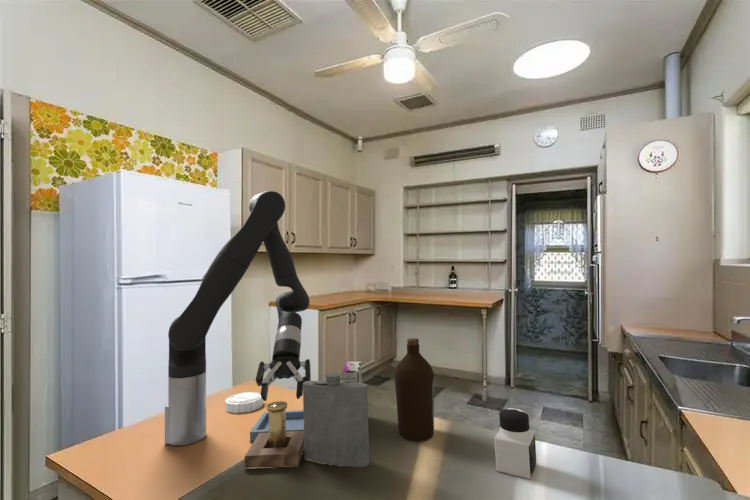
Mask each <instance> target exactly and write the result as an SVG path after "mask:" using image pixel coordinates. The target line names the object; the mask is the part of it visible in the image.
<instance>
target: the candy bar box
mask: <svg viewBox="0 0 750 500" xmlns="http://www.w3.org/2000/svg"><path fill="white" fill-rule="evenodd" d="M362 378H363V377H362V361H359V360H358V361H345V364H344V367H343V369H342V371H341V380H342V383H363V380H362Z"/></svg>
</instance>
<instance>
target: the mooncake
mask: <svg viewBox="0 0 750 500" xmlns="http://www.w3.org/2000/svg"><path fill="white" fill-rule="evenodd" d="M224 402H225V403H224V411H225V410H227V411H226V412H227V413H230V412H231V413H230V414H245V413H250V412H254V411H256V410H258V409H259V410H260V408H262V407H263V405H264V401H263V399H262V398H261V392H257V391H255V392H252V391H250V392H249V391H245V392H239V393H236V394H232V395H231V396H228V397H227V398H226V399H225V400H224ZM234 412H235V413H234ZM244 412H245V413H244Z"/></svg>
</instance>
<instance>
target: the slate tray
mask: <svg viewBox="0 0 750 500" xmlns="http://www.w3.org/2000/svg"><path fill="white" fill-rule="evenodd" d="M290 431H304V414H303V409H302V410H286V432H290ZM259 433H269V411H264V412H263V413H262V414H261V416H260V417H259V419H258V420H257V422H256V423H255V424H254V426H253V427H252V429H251V430H250V432H249V442H250V443H253V442H254V441H255V439H256V437H257V436H258V434H259Z"/></svg>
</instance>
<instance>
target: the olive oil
mask: <svg viewBox="0 0 750 500" xmlns="http://www.w3.org/2000/svg"><path fill="white" fill-rule="evenodd" d="M419 340H420V339H419V338H415V337H413V338H411V337H410V338H407V339H406V343H407V344H406V353H405V356H403V358H402V359H401V360H400V361H399V362H398V363H397V365H396V367H395V371H394V387H395V388H394V389H395V398H396V413H397V425H398V427H397V428H398V435H399V437H400V438H402V439H403V440H406V441H410V442H424V441H428V440H431V439H432V438H433V437H434V435H435V417H434V416H435V413H434V412H435V410H434V409H435V405H434V403H435V373H434V369H433V367H432V365H431V364H430V363H429V362H428V361H427V360H426V358H424V356H423V355H422V354H421V353H420V344H419V342H420V341H419Z"/></svg>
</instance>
